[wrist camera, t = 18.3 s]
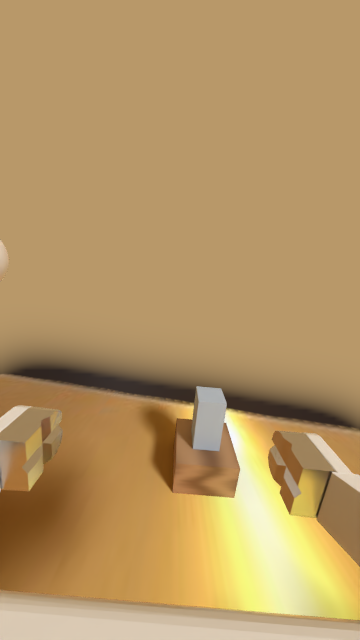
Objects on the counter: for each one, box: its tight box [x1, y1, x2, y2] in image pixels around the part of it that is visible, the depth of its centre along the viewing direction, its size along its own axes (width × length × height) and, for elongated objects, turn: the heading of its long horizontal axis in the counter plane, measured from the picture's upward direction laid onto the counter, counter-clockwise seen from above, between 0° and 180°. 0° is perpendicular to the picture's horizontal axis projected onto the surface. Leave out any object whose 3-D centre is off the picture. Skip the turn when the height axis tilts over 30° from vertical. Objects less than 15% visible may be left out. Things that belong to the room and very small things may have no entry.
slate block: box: [191, 387, 227, 451], centre depth 35 cm, size 4×4×9 cm
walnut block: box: [173, 418, 240, 498], centre depth 37 cm, size 10×10×6 cm
